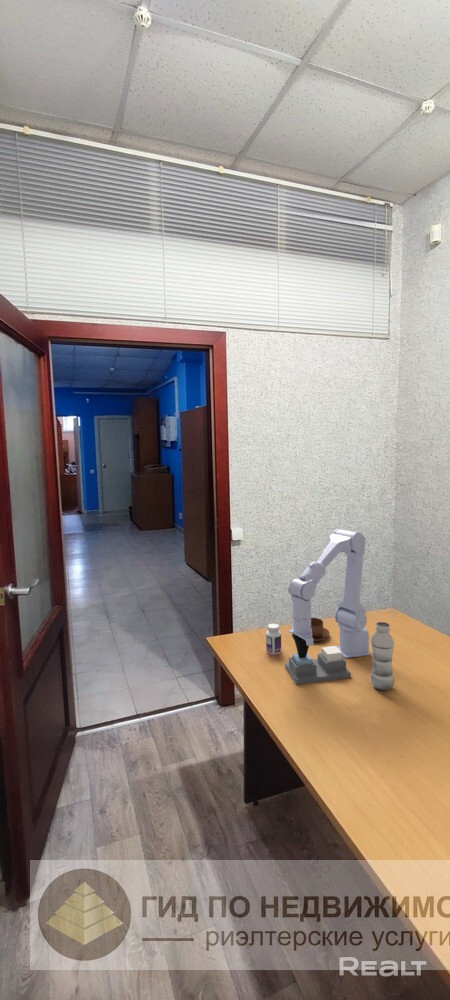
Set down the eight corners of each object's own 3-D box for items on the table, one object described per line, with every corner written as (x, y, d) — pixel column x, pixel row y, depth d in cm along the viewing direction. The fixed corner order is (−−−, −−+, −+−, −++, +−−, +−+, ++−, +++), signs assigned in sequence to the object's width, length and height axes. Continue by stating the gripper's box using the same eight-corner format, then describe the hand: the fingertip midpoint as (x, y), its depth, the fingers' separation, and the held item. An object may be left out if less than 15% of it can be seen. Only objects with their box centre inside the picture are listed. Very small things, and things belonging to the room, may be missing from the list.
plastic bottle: (395, 694, 131) (397, 629, 128) (371, 692, 132) (372, 628, 129) (392, 682, 137) (393, 620, 134) (369, 680, 138) (369, 619, 136)
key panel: (335, 660, 151) (336, 648, 151) (350, 677, 141) (350, 663, 140) (285, 667, 148) (285, 654, 148) (296, 684, 137) (296, 671, 137)
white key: (335, 654, 148) (335, 645, 147) (341, 661, 143) (341, 652, 142) (321, 656, 147) (321, 647, 146) (327, 663, 142) (327, 654, 142)
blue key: (306, 660, 146) (306, 652, 145) (312, 668, 141) (312, 659, 141) (292, 662, 145) (292, 654, 145) (297, 670, 140) (297, 661, 140)
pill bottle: (281, 648, 162) (280, 622, 160) (281, 655, 156) (281, 629, 155) (266, 647, 162) (265, 622, 161) (266, 655, 157) (265, 628, 156)
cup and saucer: (293, 632, 175) (293, 617, 174) (322, 628, 177) (322, 614, 176) (304, 645, 163) (303, 629, 162) (334, 642, 165) (334, 626, 165)
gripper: (282, 609, 147) (283, 648, 149) (297, 627, 133) (298, 669, 135) (302, 607, 148) (303, 645, 150) (319, 624, 134) (320, 666, 136)
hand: (302, 656), depth 143 cm, fingers closed, pressing on blue key
